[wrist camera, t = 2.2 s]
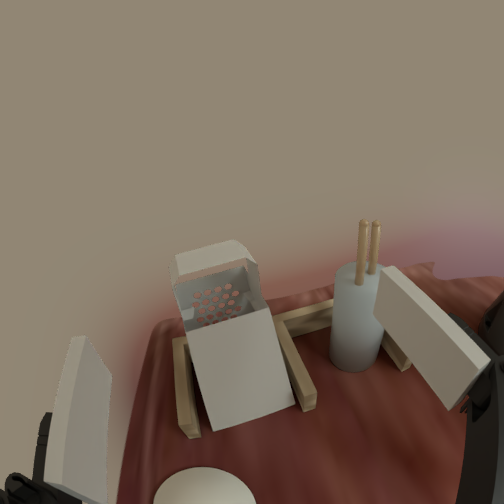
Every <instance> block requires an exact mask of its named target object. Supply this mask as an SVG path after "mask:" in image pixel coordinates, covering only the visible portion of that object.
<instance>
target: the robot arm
mask: <svg viewBox="0 0 504 504" xmlns="http://www.w3.org/2000/svg"><path fill="white" fill-rule="evenodd" d="M373 315H374V317H375V318H376V319H377V320H378V321H379V323H380V324H381V325H382V326H383V327H384V329H385V330H386V331H387V332H388V334H389V335H390V336H391V337H392V338H393V340H394V341H395V342H396V343H397V345H398V346H399V347H400V348H401V350H402V351H403V352H404V353H405V355H406V356H407V357H408V358H409V360H410V361H411V362H412V363H413V365H414V366H415V367H416V369H417V370H418V371H419V372H420V374H421V375H422V376H423V378H424V379H425V380H426V382H427V383H428V384H429V385H430V387H431V388H432V389H433V391H434V392H435V393H436V395H437V396H438V397H439V399H440V400H441V401H442V403H443V404H444V406H445V407H446V408H447V410H448V411H450V410H451V409H452V408H454V407H455V406H456V405H458V404H459V403H460V402H461V401H462V400H463V399H464V397H465V396H466V395H467V394H468V396H469V398H468V400H467V401H466V402H465V403H464V405H463V406H462V407H461V410H460V413H462V412H463V411H464V410H465V409H466V408H467V410H466V411H465V413H467V427H466V440H465V450H464V459H463V466H462V473H461V479H460V484H459V489H458V494H457V499H456V503H455V504H504V290H503V292H502V293H501V294H500V295H499V296H498V298H497V299H496V300H495V301H494V302H493V303H492V304H491V306H490V307H489V308H488V309H487V310H486V312H485V314H484V316H483V318H482V320H481V322H480V325H479V329H478V335H477V334H476V333H474V331H473V330H472V329H471V328H470V327H468V325H467V324H466V323H465V322H464V321H463V320H462V319H461V318H460V317H458V316H456V315H454V314H452V313H449V314H446V313H445V312H444V311H443V310H442V309H441V308H440V307H439V306H438V305H437V304H436V303H435V302H433V301H432V300H431V299H430V298H429V297H428V296H427V295H426V294H425V293H424V292H423V291H422V290H421V289H419V288H418V287H417V286H416V285H415V284H414V283H413V282H412V281H411V280H409V279H408V278H407V277H406V276H405V275H404V274H403V273H402V272H400V271H399V270H398V269H397V268H396V267H395V266H389V267H386V268H383V269H381V271H380V277H379V283H378V289H377V294H376V299H375V305H374V310H373ZM111 385H112V375H111V373H110V372H109V370H108V369H107V367H106V366H105V364H104V363H103V361H102V360H101V358H100V356H99V355H98V353H97V352H96V350H95V349H94V347H93V345H92V344H91V342H90V341H89V339H88V338H87V336H78V337H72V339H71V342H70V346H69V349H68V352H67V356H66V360H65V363H64V367H63V370H62V374H61V378H60V383H59V386H58V390H57V395H56V400H55V404H54V409H53V413H49V412H46V414H45V416H44V417H43V419H42V421H41V423H40V428H39V433H38V435H39V437H38V439H37V446H36V452H35V460H34V468H33V477H32V480H30V479H28V478H27V477H25V476H23V475H22V474H20V473H15V472H14V473H12V474H10V475H9V476H8V477H7V479H6V482H5V491H3V490H2V489H0V504H82V501H84V502H86V503H88V504H108V498H107V436H108V418H109V405H110V394H111Z"/></svg>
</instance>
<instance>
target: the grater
mask: <svg viewBox="0 0 504 504" xmlns="http://www.w3.org/2000/svg"><path fill="white" fill-rule="evenodd" d="M245 257H246V260H247V266H248V272H249V274H248V272H247V271H246V269H245V268H244V266H240V267H236V268H233V269H229V270H226V271H222V272H219V273H215V274H212V275H208V276H205V277H201V278H197V279H194V280H190V281H186V282H183V283H179V284H176V288H175V285H174V284H175V283H176V281H177V279H178V278H179V276H180V275H184V274H188V273H191V272H195V271H199V270H202V269H206V268H209V267H213V266H216V265H220V264H224V263H227V262H231V261H235V260H238V259H242V258H245ZM169 271H170V272H169V273H170V279H171V285H172V290H173V293H174V296H175V299H176V301H177V304H178V307H179V310H180V313H181V316H182V319H183V321H184V322H183V323H184V328H185V330H186V331H185V332H186V337H187V341H188V345H189V349H190V353H191V357H192V361H193V364H194V368H195V372H196V376H197V379H198V383H199V386H200V390H201V393H202V397H203V400H204V404H205V407H206V410H207V414H208V417H209V420H210V423H211V426H212V429H213V431H217V430H221V429H224V428H228V427H231V426H234V425H238V424H241V423H244V422H247V421H250V420H253V419H256V418H259V417H262V416H265V415H268V414H270V413H273V412H276V411H279V410H281V409H284V408H287V407H289V406H292V405H294V404H295V400H294V397H293V393H292V389H291V386H290V382H289V378H288V375H287V371H286V367H285V364H284V360H283V356H282V353H281V349H280V345H279V342H278V338H277V334H276V331H275V327H274V323H273V320H272V316H271V312H270V309H269V306H268V305H267V303H266V301H265V300H264V298H263V297H262V295H261V288H260V279H259V272H258V265H257V263H256V262H255V260H254V259H253V257H252V256H251V255H250V253H249V252H248V251H247V249H246V248H245V246H244V245H242V244H241V243H239V242H237V241H236V240H235V239H232V240H228V241H224V242H221V243H217V244H213V245H210V246H206V247H202V248H198V249H194V250H191V251H187V252H183V253H180V254H176V255H175V256H174V258H173V260H172V261H171V263H170V265H169ZM227 283H228V284H229V283H230V284H231V285H232V288H231V289H229V290H226V289H225V288H224V286H225V285H226V284H227ZM218 286H220V287H222V290H221V292H219V293H216V292H215V291H214V289H215V288H216V287H218ZM176 289H177V291H176ZM207 289H209V290H211V291H212V292H211V294H210V295H208V296H206V295H204V291H205V290H207ZM233 291H239V295H238V296H236V297H235V296H232V292H233ZM196 292H199V293H201V297H200V298H194V294H195V293H196ZM225 293H228V294H229V298H228V299H223V298H222V295H223V294H225ZM215 296H217V297H219V301H217V302H212V298H213V297H215ZM205 299H208V300H209V301H210V302H209V304H207V305H203V304H202V301H203V300H205ZM229 300H234V301H235V303H234V304H233V305H228V304H227V303H228V301H229ZM194 302H198V303H199V304H200V306H199V307H197V308H195V307H192V303H194ZM220 303H225V307H223V308H219V307H218V305H219V304H220ZM212 305H213V306H215V310H213V311H209V310H208V307H209V306H212ZM237 306H241V307H242V308H241V310H240V311H235V310H234V309H235V307H237ZM201 308H204V309H205V310H206V312H205V313H203V314H200V313H199V312H198V311H199V309H201ZM227 309H232V312H231V313H230V314H226V313H225V311H226V310H227ZM220 311H221V312H222V313H223V315H222V316H220V317H217V316H216V313H217V312H220ZM209 314H212V315H213V318H212V319H210V320H208V319H207V318H206V316H207V315H209ZM233 314H236V315H237V317H236V318H233V319H231V318H230V317H231V316H232V315H233ZM199 317H203V318H204V321H202V322H198V321H197V319H198V318H199ZM224 317H228V320H226V321H223V322H222V321H221V320H222V318H224ZM214 320H218V321H219V323H216V324H212V322H213V321H214ZM207 322H208V323H210V325H209V326H206V327H203V324H204V323H207Z"/></svg>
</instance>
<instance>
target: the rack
mask: <svg viewBox="0 0 504 504" xmlns="http://www.w3.org/2000/svg"><path fill="white" fill-rule="evenodd" d="M333 302H334V299H331V300H328V301H324V302H321V303H317V304H314V305H310V306H307V307H303V308H300V309H296V310H293V311H289V312H285V313H281V314H278V315H274V316H272V320H273V323H274V327H275V331H276V334H277V338H278V342H279V345H280V349H281V353H282V356H283V360H284V364H285V367H286V371H287V374H288V377H289V379H290V381H291V384H292V386H293V388H294V391H295V393H296V396H297V398H298V400H299V403H300V405H301V407H302V410H303V412H306V411H309V410H312V409H315V407H316V398H317V391H316V389H315V387H314V384H313V382H312V380H311V378H310V376H309V374H308V372H307V370H306V368H305V366H304V364H303V362H302V360H301V357H300V355H299V353H298V351H297V349H296V347H295V345H294V343H293V341H292V339H291V338H293V337H296V336H299V335H303V334H306V333H309V332H313V331H316V330H319V329H322V328H325V327H329V326H332V314H333ZM172 345H173V359H174V377H175V391H176V403H177V414H178V424H179V427H180V428H181V429H182V430H183V432H184V433H185V434H186V436H187V437H188V438H189V439H192V438H199V437H201V432H200V426H199V419H198V413H197V406H196V399H195V391H194V384H193V375H192V367H191V362H193V361H192V357H191V353H190V349H189V345H188V341H187V337H186V336H183V337H178V338H173V339H172ZM381 345H382V346H383V348H384V349H385V350H386V352H387V353H388V354H389V356H390V357H391V358H392V360H393V361H394V363H395V364H396V365H397V367H398V368H399V369H400V371H401V372H402V371H404V370H406V369H408V368H410V366H411V364H412V362H411V361H410V360H409V358H408V357H407V356H406V355H405V353H404V352H403V351H402V350H401V348H400V347H399V346H398V345H397V343H396V342H395V341H394V340H393V338H392V337H391V336H390V335H389V334H388V332H387V331H386V330H384V333H383V337H382V341H381Z"/></svg>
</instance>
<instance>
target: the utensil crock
mask: <svg viewBox="0 0 504 504" xmlns="http://www.w3.org/2000/svg"><path fill="white" fill-rule="evenodd" d="M380 232H381V223H380V221H378V220H375V221H373V222H372V231H371V242H370V252H369V261H366V257H367V246H368V235H369V222H368V220H366V219H362V220H361V221H360V222H359V236H358V250H357V251H358V252H357V261H355V262H351V263H347V264H345V265H343V266H342V267H340V268H339V269H338V270H337V272H336V274H335V287H334V302H333V314H332V326H331V336H330V346H329V357H330V360H331V362H332V363H333V364H334V365H335V366H336V367H337V368H339V369H341V370H343V371H347V372H361V371H364V370H366V369H368V368H369V367H371V366H372V365H373V364H374V362H375V360H376V358H377V354H378V351H379V348H380V344H381V341H382V337H383V333H384V330H385V329H384V327H383V326H382V325H381V324H380V323H379V321H378V320H377V319H376V318H375V317H374V315H373V310H374V305H375V299H376V294H377V289H378V283H379V277H380V271H381V269H383V268H386V267H384V266H383V265H380V264H378V263H377V259H378V251H379V242H380Z"/></svg>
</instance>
